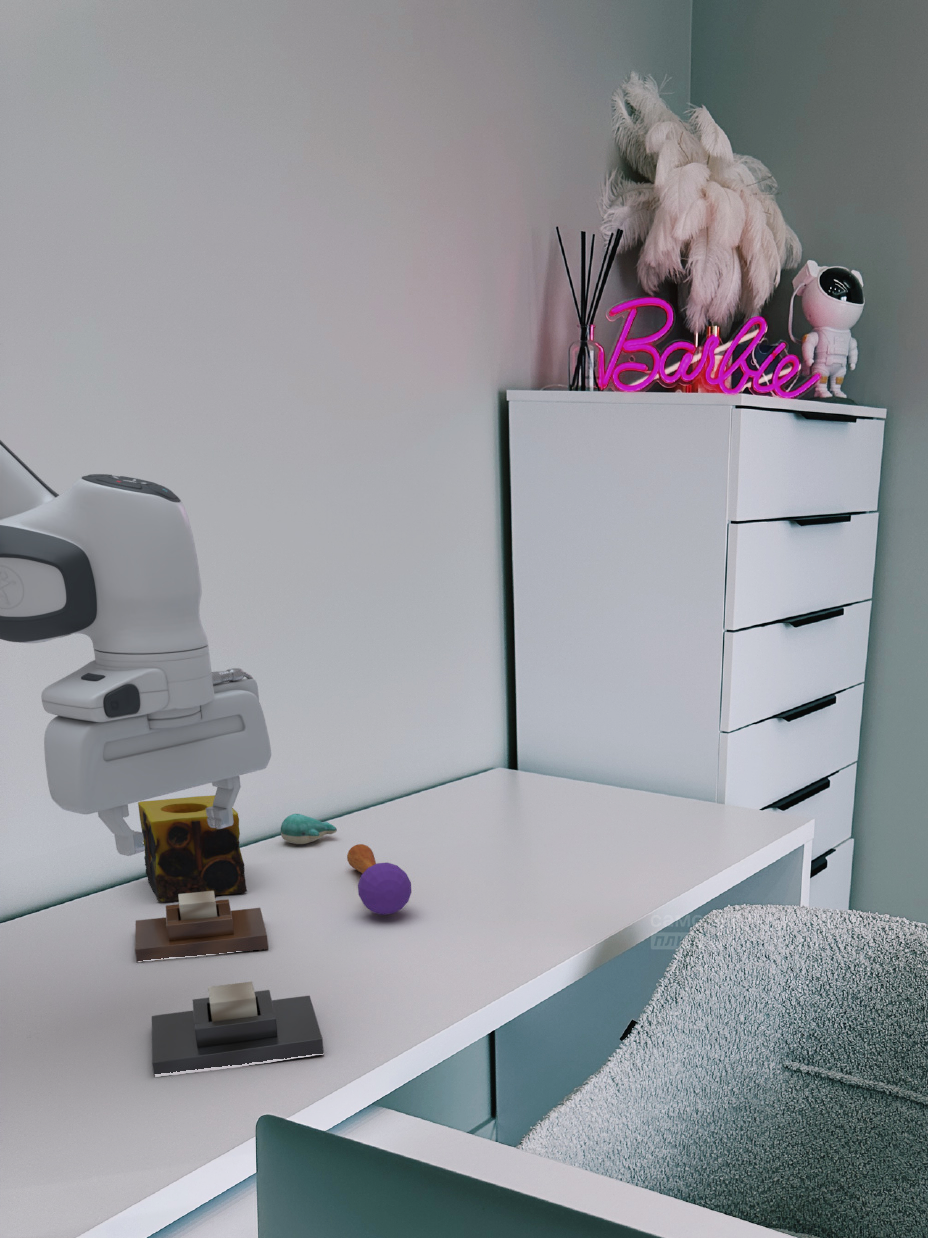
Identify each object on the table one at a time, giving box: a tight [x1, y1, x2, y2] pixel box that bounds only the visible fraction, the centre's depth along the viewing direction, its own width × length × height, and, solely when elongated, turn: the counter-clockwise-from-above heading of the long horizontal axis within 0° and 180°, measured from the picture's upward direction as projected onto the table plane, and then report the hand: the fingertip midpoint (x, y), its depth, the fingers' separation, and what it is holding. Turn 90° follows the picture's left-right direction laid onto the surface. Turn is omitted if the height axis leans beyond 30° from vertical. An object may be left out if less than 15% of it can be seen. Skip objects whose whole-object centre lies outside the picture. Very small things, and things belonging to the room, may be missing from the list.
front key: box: [207, 981, 258, 1022], centre depth 112 cm, size 4×4×2 cm
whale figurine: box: [280, 813, 338, 845], centre depth 171 cm, size 6×7×4 cm
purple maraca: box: [346, 843, 412, 916], centre depth 151 cm, size 6×6×20 cm
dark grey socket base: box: [151, 989, 325, 1075], centre depth 113 cm, size 14×10×4 cm
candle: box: [137, 794, 248, 903], centre depth 150 cm, size 10×10×10 cm
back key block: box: [134, 898, 269, 962], centre depth 135 cm, size 13×9×4 cm
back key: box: [178, 891, 217, 920], centre depth 134 cm, size 4×4×2 cm
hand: (177, 839), depth 110 cm, fingers open, 8 cm apart
